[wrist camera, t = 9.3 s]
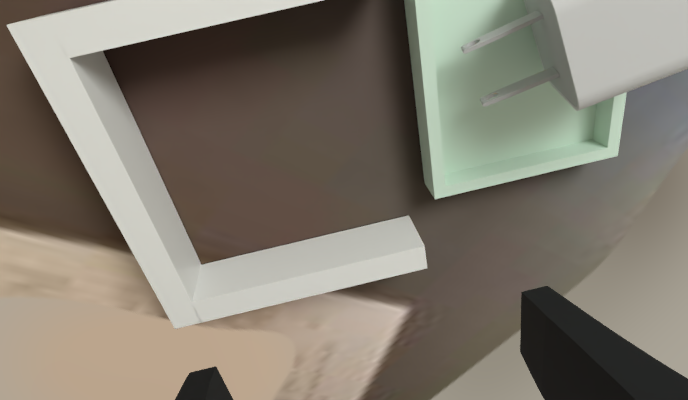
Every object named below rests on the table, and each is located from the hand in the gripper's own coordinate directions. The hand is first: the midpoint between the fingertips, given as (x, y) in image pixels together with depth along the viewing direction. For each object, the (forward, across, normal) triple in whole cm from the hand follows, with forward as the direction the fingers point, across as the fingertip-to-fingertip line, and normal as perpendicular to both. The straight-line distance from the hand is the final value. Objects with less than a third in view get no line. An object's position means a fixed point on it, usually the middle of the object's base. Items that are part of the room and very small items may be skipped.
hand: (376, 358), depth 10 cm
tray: (+10, -8, -4) cm, 13 cm away
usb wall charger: (+9, -9, -4) cm, 14 cm away
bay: (+10, +2, -2) cm, 10 cm away
